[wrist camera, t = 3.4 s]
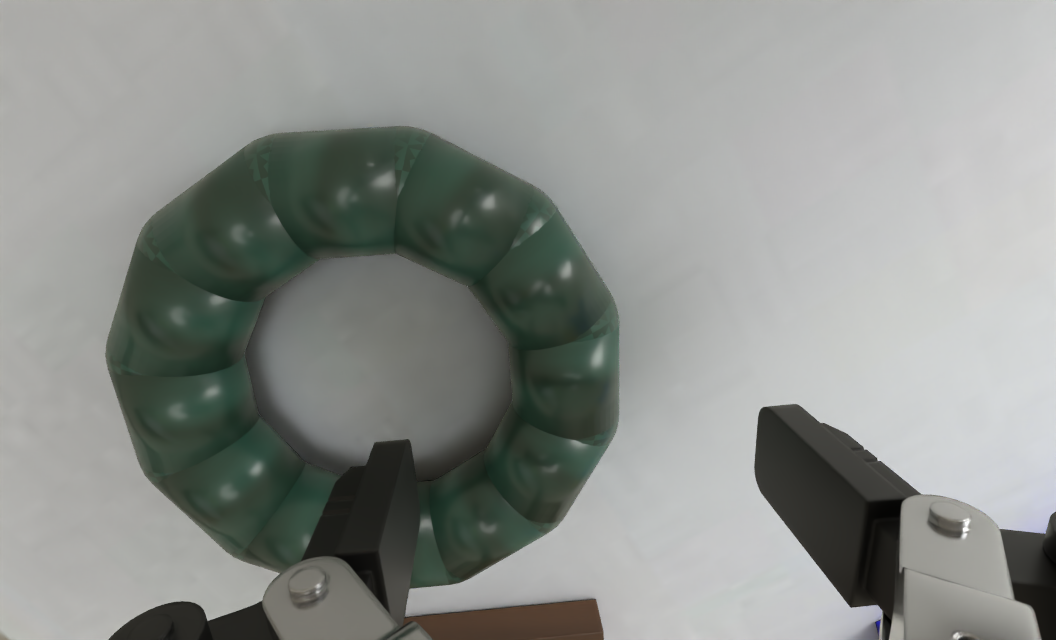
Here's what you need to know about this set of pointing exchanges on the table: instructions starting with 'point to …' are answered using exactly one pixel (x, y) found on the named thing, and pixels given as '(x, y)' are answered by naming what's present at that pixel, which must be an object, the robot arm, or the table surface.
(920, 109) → the table surface
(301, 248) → the green ring
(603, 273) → the table surface
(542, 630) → the stand
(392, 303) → the table surface
